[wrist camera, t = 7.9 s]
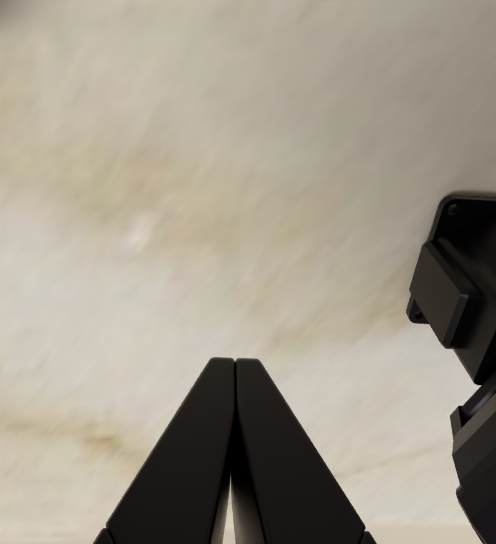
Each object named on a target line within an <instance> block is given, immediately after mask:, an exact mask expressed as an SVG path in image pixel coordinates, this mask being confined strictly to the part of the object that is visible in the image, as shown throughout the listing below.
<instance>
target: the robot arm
mask: <svg viewBox="0 0 496 544" xmlns="http://www.w3.org/2000/svg"><path fill="white" fill-rule="evenodd" d="M454 204H456V207H455V209H454V210H452V211H449V212H448V209H449V207H450V206H451V205H454ZM409 291H410V292H411V297H410V300H409V303H408V306H407V310H406V314H407V316H408V318H409V319H410V321H411V322H413V323H418V324H430V326H431V328H432V329H433V331H434V333H435V334H436V336H437V338H438V340H439V341H440V343H441V344H442V345H443V346H444V347H445V348H446V349H453V350H454V351H455V353H456V355H457V356H458V358H459V360H460V361H461V363H462V364H463V366H464V368H465V369H466V371H467V372H468V374H469V376H470V377H471V379H472V381H473V382H474V383H475V384H476V385H482V386H481V387H480V388H479V389H478V390H477V391H476V392H475V393H474V394H473V395H472V396H471V397H470V399H469V400H468V401H467V402H466V403H465V404H464V405H463V406H458V407H457V408H456V409H455V410H454V412H453V413H452V414H451V415H450V420H451V426H452V433H453V440H454V441H453V451H452V457H453V460H454V464H455V468H456V471H457V475H458V478H459V482H460V486H459V487H458V488H457V489H456V495H457V499H458V502H459V504H460V506H461V508H462V509H463V511H464V513H465V515H466V516H467V518H468V520H469V522H470V524H471V525H472V527H473V529H474V530H475V532H476V534H477V535H478V537H479V538H480V540H481V541H482V543H483V544H496V197H479V196H461V195H450V196H447V197H445V198H444V199H443V200H442V201H441V202H440V204H439V206H438V209H437V212H436V215H435V219H434V222H433V225H432V228H431V232H430V235H429V238H428V241H426V242H425V243H424V244H423V246H422V249H421V252H420V255H419V259H418V262H417V265H416V269H415V272H414V275H413V278H412V282H411V285H410V288H409ZM418 311H421V312H420V313H419V314H415V313H416V312H418ZM230 477H231V498H232V510H233V520H234V531H235V540H236V544H377V543H376V542H375V540H374V539H373V537H372V535H371V534H370V532H368V531H365V525H364V523H363V522H362V520H361V519H360V517H359V515H358V514H357V512H356V511H355V509H354V508H353V506H352V504H351V503H350V501H349V500H348V498H347V497H346V495H345V493H344V492H343V490H342V489H341V487H340V486H339V484H338V482H337V481H336V479H335V478H334V476H333V475H332V473H331V471H330V470H329V468H328V467H327V465H326V464H325V462H324V460H323V459H322V457H321V456H320V454H319V453H318V451H317V449H316V448H315V446H314V445H313V443H312V442H311V440H310V438H309V437H308V435H307V434H306V432H305V431H304V429H303V427H302V426H301V424H300V423H299V421H298V420H297V418H296V416H295V415H294V413H293V412H292V410H291V409H290V407H289V405H288V404H287V402H286V401H285V399H284V398H283V396H282V394H281V393H280V391H279V390H278V388H277V387H276V385H275V383H274V382H273V380H272V379H271V377H270V376H269V374H268V372H267V371H266V369H265V368H264V366H263V365H262V363H261V362H260V361H259V360H258V359H251V358H238V359H236V361H234V359H232V358H221V357H213V358H211V359H210V360H209V361H208V363H207V365H206V366H205V368H204V369H203V371H202V372H201V374H200V376H199V377H198V379H197V380H196V382H195V383H194V385H193V387H192V388H191V390H190V391H189V393H188V395H187V396H186V398H185V399H184V401H183V402H182V404H181V406H180V407H179V409H178V410H177V412H176V413H175V415H174V417H173V418H172V420H171V421H170V423H169V425H168V426H167V428H166V429H165V431H164V432H163V434H162V436H161V437H160V439H159V440H158V442H157V443H156V445H155V447H154V448H153V450H152V451H151V453H150V455H149V456H148V458H147V459H146V461H145V462H144V464H143V466H142V467H141V469H140V470H139V472H138V473H137V475H136V477H135V478H134V480H133V481H132V483H131V485H130V486H129V488H128V489H127V491H126V492H125V494H124V496H123V497H122V499H121V500H120V502H119V503H118V505H117V507H116V508H115V510H114V511H113V513H112V515H111V516H110V518H109V519H108V521H107V523H106V528H103V529H102V530H101V531H100V533H99V535H98V536H97V538H96V539H95V541H94V542H93V544H222V542H223V535H224V528H225V521H226V514H227V507H228V499H229V490H230ZM364 531H365V532H364Z"/></svg>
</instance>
